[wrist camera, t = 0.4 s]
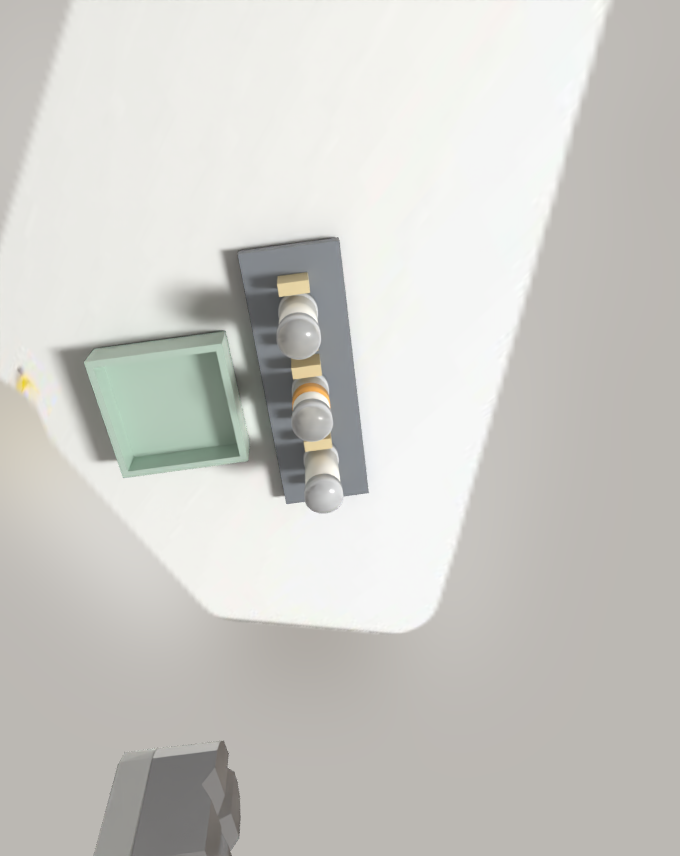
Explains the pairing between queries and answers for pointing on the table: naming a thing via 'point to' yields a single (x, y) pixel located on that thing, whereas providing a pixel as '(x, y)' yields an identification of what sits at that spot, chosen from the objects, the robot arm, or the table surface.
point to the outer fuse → (322, 480)
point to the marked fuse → (311, 408)
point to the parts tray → (170, 403)
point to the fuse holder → (322, 278)
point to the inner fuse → (298, 326)
